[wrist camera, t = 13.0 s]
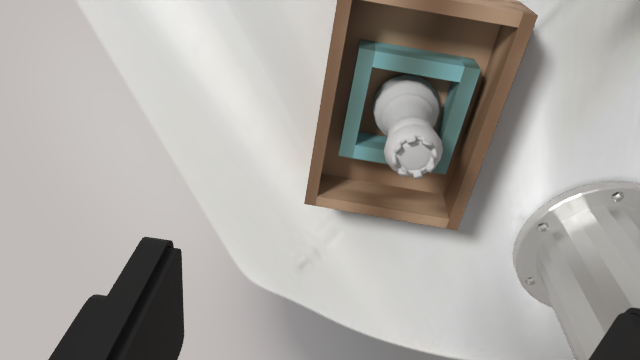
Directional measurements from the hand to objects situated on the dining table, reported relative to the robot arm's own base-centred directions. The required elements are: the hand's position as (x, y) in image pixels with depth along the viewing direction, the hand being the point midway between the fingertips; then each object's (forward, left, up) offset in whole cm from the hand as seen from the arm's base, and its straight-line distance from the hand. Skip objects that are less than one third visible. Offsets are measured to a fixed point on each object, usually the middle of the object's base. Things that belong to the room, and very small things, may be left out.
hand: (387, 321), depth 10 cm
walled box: (-4, +3, -25) cm, 25 cm away
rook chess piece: (-4, +3, -24) cm, 25 cm away
